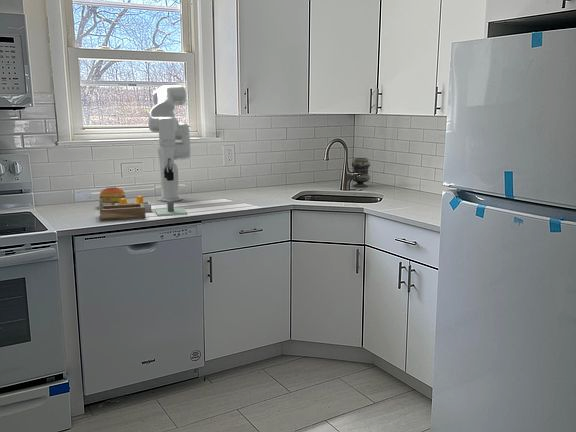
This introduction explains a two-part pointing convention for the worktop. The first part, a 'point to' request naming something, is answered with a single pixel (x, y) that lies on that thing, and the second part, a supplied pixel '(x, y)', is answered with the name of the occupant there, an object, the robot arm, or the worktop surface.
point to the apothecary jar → (361, 171)
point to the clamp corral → (146, 205)
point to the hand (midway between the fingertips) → (169, 179)
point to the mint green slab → (171, 210)
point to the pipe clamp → (138, 200)
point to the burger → (111, 195)
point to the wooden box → (121, 211)
